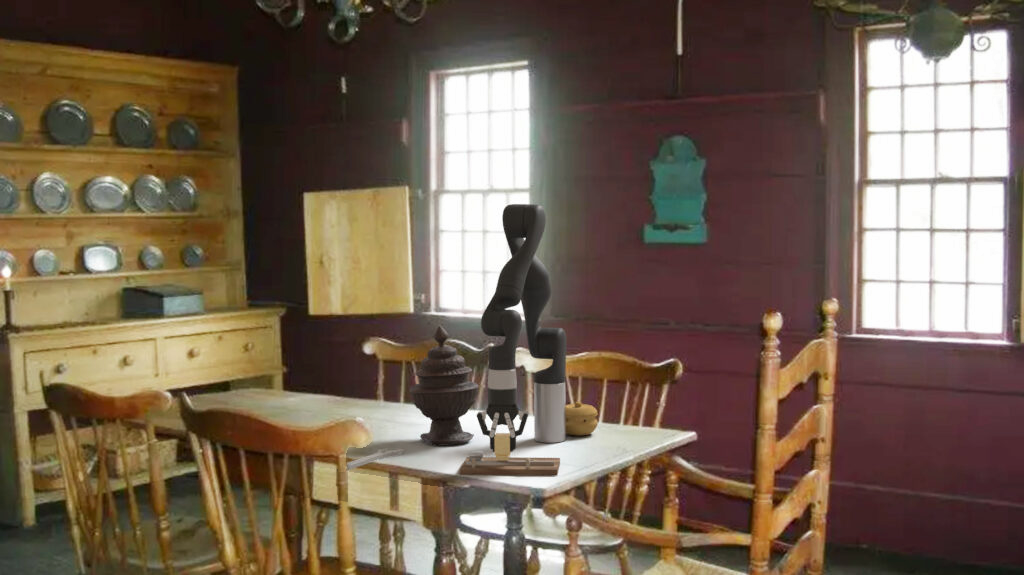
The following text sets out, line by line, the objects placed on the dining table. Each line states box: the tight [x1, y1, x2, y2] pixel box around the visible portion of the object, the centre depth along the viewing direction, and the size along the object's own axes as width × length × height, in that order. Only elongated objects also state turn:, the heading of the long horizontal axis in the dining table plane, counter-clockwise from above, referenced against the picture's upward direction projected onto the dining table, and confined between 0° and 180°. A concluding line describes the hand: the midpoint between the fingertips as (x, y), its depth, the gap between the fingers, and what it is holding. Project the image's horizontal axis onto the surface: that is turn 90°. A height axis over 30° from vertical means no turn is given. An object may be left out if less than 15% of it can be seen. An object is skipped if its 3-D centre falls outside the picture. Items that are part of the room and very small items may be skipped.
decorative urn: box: [408, 324, 479, 446], centre depth 324 cm, size 20×20×35 cm
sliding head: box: [494, 432, 512, 461], centre depth 289 cm, size 6×4×7 cm, turn 175°
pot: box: [566, 401, 599, 437], centre depth 333 cm, size 12×12×10 cm
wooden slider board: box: [459, 450, 561, 476], centre depth 288 cm, size 14×25×4 cm, turn 85°
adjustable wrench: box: [346, 447, 404, 471], centre depth 301 cm, size 25×6×2 cm, turn 147°
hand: (503, 450), depth 288 cm, fingers closed on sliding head, 4 cm apart
